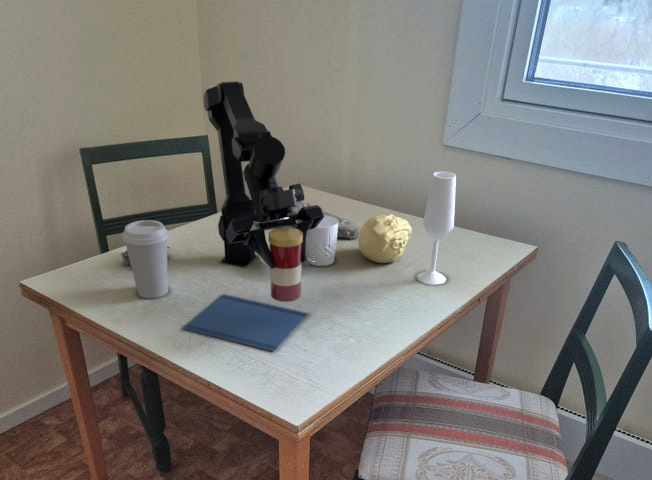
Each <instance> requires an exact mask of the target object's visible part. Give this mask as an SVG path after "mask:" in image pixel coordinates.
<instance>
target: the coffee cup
mask: <svg viewBox="0 0 652 480" xmlns="http://www.w3.org/2000/svg"><path fill="white" fill-rule="evenodd" d="M169 236H170V233H169V231H168V229H167V228H166V227H165V225H164V224H163V222H161V221H158V220H152V219H144V220H143V219H142V220H137V221H132V222H129V223H128V224H126V225H125V226H124V230H123V232H122V235H121V240H122V242H124V243H125V247H126V250H127V251H128V255H129V259H130V263H131V265H130V267H131V271H132V275H133V280H134V283H135V288H136V291H137V295H138V296H139V297H140V298H143V299H156V298H157V299H158V298H161V297H164V296H165V295H166V294H168V292H169V288H168V287H169V285H168V284H169V281H168V279H169V278H168V258H167V257H168V256H167V252H168V248H167V246H168V238H169Z"/></svg>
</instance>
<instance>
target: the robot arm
mask: <svg viewBox="0 0 652 480" xmlns="http://www.w3.org/2000/svg"><path fill="white" fill-rule="evenodd" d="M243 85H244V84H243V83H242V82H240V81H237V80H236V81H221V82H220V83H217V84H216V85H215V86H213V87H211V88H210V87H209V88H208V89H206V90H205V91H204V93H203V95H202V96H203V98H202V99H203V100H202V101H203V107H204V111H205V112H206V113H207V118H208V121H209V122H210V124H211V125H212V126H213V128H214V129H215V130H216V132H217V138H218V147H219V153H220V160H221V167H222V174H223V182H224V189H225V199H224V201H223V204H222V207H221V210H220V211H221V215H220V217H219V220H218V224H217V228H218V234H219V237H220V239H221V240H222V242H223V247H224V257H223V258H222V259H221V262H222V263H224V264H230V265H233V266H235V265H236V266H239V267H247V266H248V265H249V264H250V263H252V262H253V261H254V260H255V259H256V258H257V257H258V256H259V257H260V258H261V259H262V260H263V261H264V262H265V263H266V264H267V266H268V267H269V269H270V268H271V269H274V268H275V264H274V260H273V257H272V255H271V252H270V246H269V245H268V242H267V238H266V231H269V230H270V231H271V230H273V229H276V228H282V227H291V228H295V229H298V230H300V231H301V232H302V233H303V241H302V256H301V262H302V264H304V263H305V262H306V259H307V257H306V235H307V231H308V230H311V229H314V228H316V227H317V226H318V224H319V223H320V222H321V221H322V219H323V218H324V217H325V216H324V213H323V212H324V211H323V208H322V207H321V206H320V205H318V204H315V205H312V206H308V207H302V208H301V209H300V211H299V212H298V214H297V215H291V216H288V213H290V212H291V211H292V207H297V202H304V201H305V192H304V188H303V186H302V184H301V183H295V184H294V183H293V184H291V185H288V189H284V188H283V186H279V183H278V181H277V178H276V176H277V175H278V173H279V171H280V168H281V165H282V164H283V161H284V158H285V156H286V148H285V146H284V144H283V143H282V142H281V141H280V140H279V139H278V138H276V137H274V136H272V133H271V131H270V130H268V129H267V127H266V125H265V124H264V123H262V122H260V121H258V120H256V119H255V117H254V114H253V112H252V110H251V109H252V108H251V107H250V105H249V102H248V100H247V98H246V96H245V89H244V86H243ZM243 162H244V163H245V162H248V163H247V164H246V165H245V167H244V170H243ZM245 183H246V186H247V189H248V192H249V195H250V196H248V194H247V193H246V188H245V187H246V186H245ZM257 255H258V256H257Z"/></svg>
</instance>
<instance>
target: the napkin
mask: <svg viewBox="0 0 652 480" xmlns="http://www.w3.org/2000/svg"><path fill="white" fill-rule="evenodd" d="M307 316H308V313H307V312H304V311H299V310H294V309H290V308H286V307H281V306H276V305H271V304H268V303H263V302H259V301H254V300H250V299H245V298H241V297H236V296H233V295H227V294H222V295H221V296H219V298H218V299H216V300H215V301H214V302H213V303H212V304H210V305H208V306H207V308H205V309H204V310H203V311H202V312H201V313H199V314H198V315H197V316H196V317H194V318H193V319H192V320H190V322H188V323H187V324H186V325H184V326H183V328H182V329H183V330H185V331H189V332H193V333H195V334H196V333H197V334H201V335H204V336H208V337H213V338H216V339H220V340H224V341H228V342H232V343H235V344H236V343H237V344H239V345H240V344H241V345H244V346H245V345H246V346H249V347H253V348H256V349H260V350H263V351H268V352H271V353H273V352H275V351H276V349H278V348H279V346H280V345H281V344H282V343H283V342H284V341H285V340H286V338H287V337H288V336H290V334H292V332H293V331H294V330H295V329H296V328H297V327H298V326H299V324H300V323H301V322H302V321H303V320H304V319H305V318H306V317H307Z"/></svg>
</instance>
